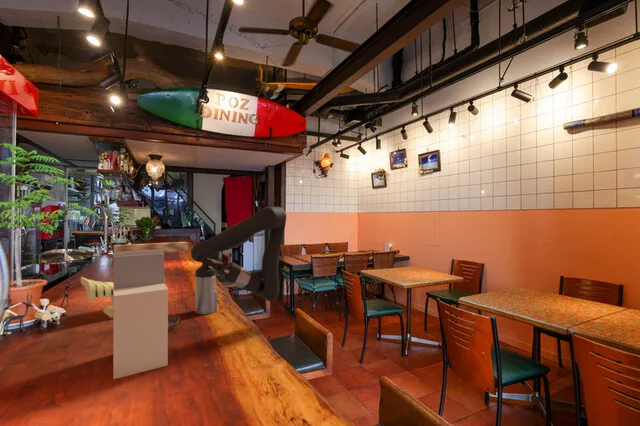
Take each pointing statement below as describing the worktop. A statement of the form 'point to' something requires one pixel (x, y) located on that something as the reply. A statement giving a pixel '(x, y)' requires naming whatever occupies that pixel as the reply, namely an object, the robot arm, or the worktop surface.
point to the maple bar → (153, 247)
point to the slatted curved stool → (100, 292)
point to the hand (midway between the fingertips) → (199, 257)
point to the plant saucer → (172, 321)
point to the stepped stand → (139, 312)
